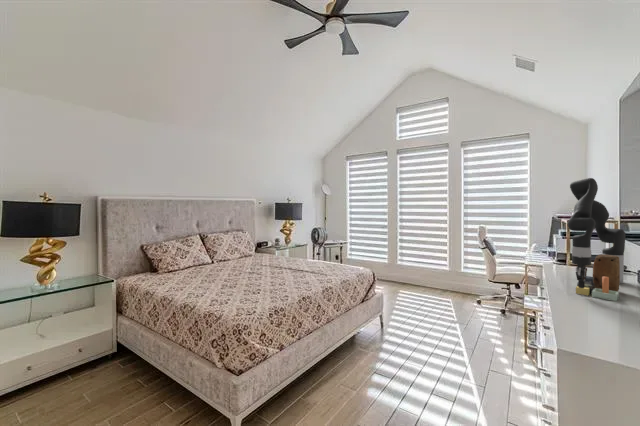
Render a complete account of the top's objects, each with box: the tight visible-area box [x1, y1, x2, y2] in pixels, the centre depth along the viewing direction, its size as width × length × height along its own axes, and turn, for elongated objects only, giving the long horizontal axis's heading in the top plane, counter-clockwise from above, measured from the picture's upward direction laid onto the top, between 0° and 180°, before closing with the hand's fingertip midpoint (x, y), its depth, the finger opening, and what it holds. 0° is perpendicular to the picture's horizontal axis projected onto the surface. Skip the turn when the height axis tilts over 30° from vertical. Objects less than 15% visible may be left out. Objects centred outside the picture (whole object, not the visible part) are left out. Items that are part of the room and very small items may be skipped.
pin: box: [602, 277, 609, 294], centre depth 147 cm, size 2×2×10 cm
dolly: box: [576, 275, 594, 294], centre depth 157 cm, size 9×6×8 cm, turn 128°
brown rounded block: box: [592, 254, 621, 292], centre depth 158 cm, size 11×8×20 cm
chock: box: [575, 285, 591, 296], centre depth 153 cm, size 4×5×4 cm
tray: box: [591, 288, 620, 302], centre depth 147 cm, size 9×9×3 cm
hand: (581, 287), depth 149 cm, fingers closed
